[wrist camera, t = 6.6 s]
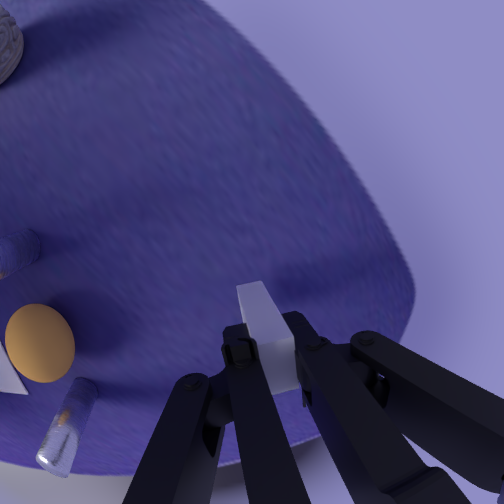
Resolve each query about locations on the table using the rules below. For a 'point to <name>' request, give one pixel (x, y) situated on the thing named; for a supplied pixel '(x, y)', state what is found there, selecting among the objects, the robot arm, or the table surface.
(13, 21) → the carving
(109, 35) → the table surface
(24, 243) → the post
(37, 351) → the ball
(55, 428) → the post
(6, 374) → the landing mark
